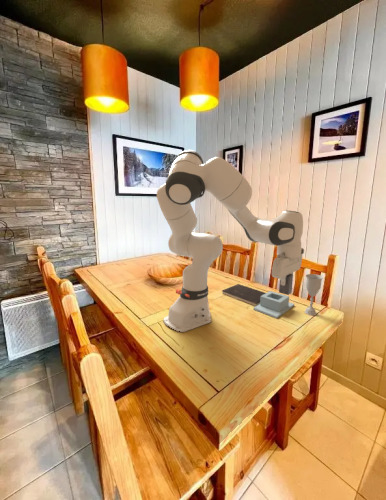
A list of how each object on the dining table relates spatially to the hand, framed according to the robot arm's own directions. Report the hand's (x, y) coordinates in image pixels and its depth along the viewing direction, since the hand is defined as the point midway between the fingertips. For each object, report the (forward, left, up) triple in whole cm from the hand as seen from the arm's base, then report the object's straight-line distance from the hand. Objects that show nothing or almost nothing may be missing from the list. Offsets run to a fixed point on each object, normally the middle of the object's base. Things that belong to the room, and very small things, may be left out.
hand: (285, 283), depth 94 cm
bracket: (0, +1, -4) cm, 4 cm away
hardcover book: (+14, +27, -19) cm, 36 cm away
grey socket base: (+11, +9, -18) cm, 23 cm away
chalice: (+18, -5, -18) cm, 26 cm away
